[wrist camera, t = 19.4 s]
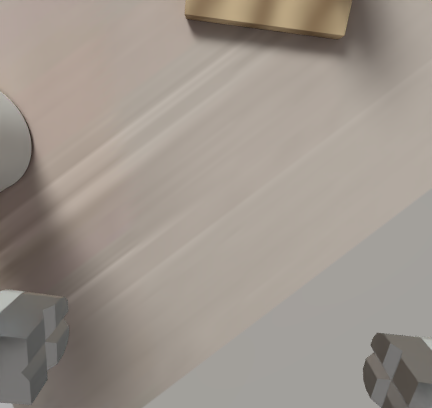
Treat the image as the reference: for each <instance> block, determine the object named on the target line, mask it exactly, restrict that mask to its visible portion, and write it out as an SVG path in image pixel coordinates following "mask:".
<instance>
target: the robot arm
mask: <svg viewBox="0 0 432 408" xmlns="http://www.w3.org/2000/svg"><path fill="white" fill-rule="evenodd" d="M30 158H31V138H30V133H29V130H28V127H27V124H26V122H25V120H24V118H23V116H22V114H21V113H20V111H19V110H18V108H17V107H16V106H15V105H14V103H13V102H12V101H11V100H10V99H9V98H8V97H7V96H6V95H4V94H3V93H2V92H1V91H0V192H1V191H2V190H4V189H6V188H7V187H9V186H11V185H13V184H14V183H16V182H17V181H18V180H19V179H20V178H21V177H22V176H23V174H24V173H25V171H26V169H27V167H28V165H29V162H30ZM67 312H68V300H67V299H66V298H65V297H63V296H55V295H48V294H41V293H33V292H24V291H17V290H9V289H7V290H3V291H1V292H0V402H1V403H14V404H28V405H31V404H32V403H33V401H34V400H35V398H36V397H37V395H38V393H39V392H40V390H41V389H42V387H43V386H44V384H45V383H46V381H47V370H49V369H50V368H52V367H54V366H55V365H57V364H58V362H59V360H60V359H61V357H62V356H63V353H64V351H65V348H66V345H67V342H68V336H69V325H68V324H67V322H66V321H65V320H64V316H65V315H66V314H67ZM371 347H372V349H373V351H374V353H373V354H371V355H370V356H369V357H367V358H366V361H365V364H364V367H363V380H364V384H365V387H366V390H367V392H368V394H369V396H370V398H371V399H372V400H373V401H374V402H375V403H376V404H378V405H379V406H380V407H381V408H432V338H430V337H419V336H415V337H411V336H403V335H394V334H384V333H377V334H376V335H375V336H374V337H373V339H372V342H371Z"/></svg>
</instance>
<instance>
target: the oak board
mask: <svg viewBox="0 0 432 408" xmlns="http://www.w3.org/2000/svg"><path fill="white" fill-rule="evenodd" d="M351 4H352V0H186V4H185V16H186V19H191V20H198V21H205V22H213V23H220V24H228V25H235V26H242V27H250V28H257V29H265V30H272V31H279V32H287V33H294V34H302V35H309V36H316V37H324V38H331V39H340V38H341V37H343V36H344V35H345V31H346V27H347V22H348V18H349V13H350V9H351Z"/></svg>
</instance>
